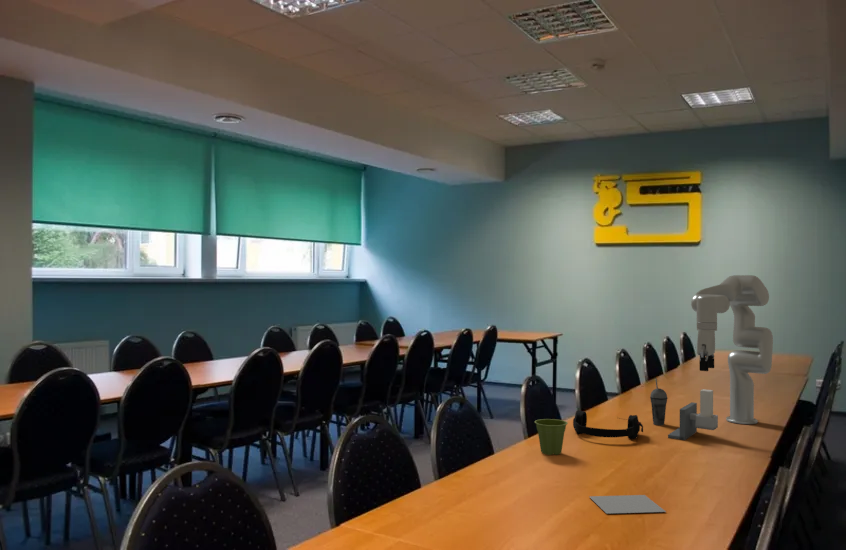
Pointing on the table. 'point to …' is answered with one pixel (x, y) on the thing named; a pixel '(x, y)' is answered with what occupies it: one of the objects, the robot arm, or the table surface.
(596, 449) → the table surface
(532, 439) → the table surface
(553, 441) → the plant pot
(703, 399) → the rail
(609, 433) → the headset
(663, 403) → the beverage cup
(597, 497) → the grey flat square slab
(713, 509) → the table surface
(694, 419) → the bracket
